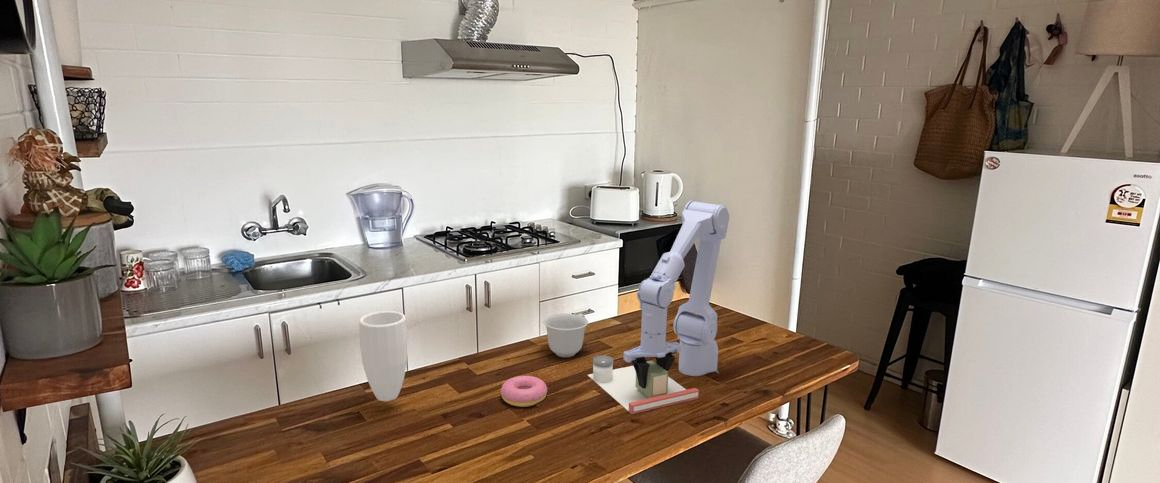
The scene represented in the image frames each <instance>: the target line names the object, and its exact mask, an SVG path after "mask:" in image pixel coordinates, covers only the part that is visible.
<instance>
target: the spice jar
mask: <svg viewBox="0 0 1160 483" xmlns="http://www.w3.org/2000/svg"><path fill="white" fill-rule="evenodd" d="M592 363H593V364H592V365H593V366H592V367H593V368H592V374H593V380H592V381H593V382H595V381H596V382H599V383H607V382H610V381H612V376H613V370H614V369H613V368H614V367H613V366H614V358H613V357H611V356H609V355H601V354H600V355H597V356H594V357H593V359H592ZM596 382H595V383H596Z"/></svg>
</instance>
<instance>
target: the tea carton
mask: <svg viewBox="0 0 1160 483" xmlns="http://www.w3.org/2000/svg"><path fill="white" fill-rule="evenodd" d="M646 362H647V363H649V364H650V366H649V369H648V373H647V384H646V388H644V389H643V388H642V387H640V386H639V383H638V378H637V374H636V385H635V387H636V388H637V389H639V390H640V391H641V392H642V393H644V394H645V395H646V396H647V397H649V398H652V397H657V396H661V395H666V394H667V390H668V377H669V370H668V371H666V370H665V369H663V368H662V367H661V366H659V365H658V364H656V361H654V360H648V361H647V360H646Z"/></svg>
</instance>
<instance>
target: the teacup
mask: <svg viewBox="0 0 1160 483" xmlns="http://www.w3.org/2000/svg"><path fill="white" fill-rule="evenodd" d="M588 324H589V320H588V319H587V318H586V316H585V315H584V313H578V314H575V313H555V314H552V315H548V316H547V317H546V318H544V319H543V325H545V328H546V333H547V334H546V336H547V341H548V342H547V343H548V346H549V349H550V350H551V351H552V352H553V353H554V354H555V355H556V356H558V357H561V358H571V357H574V356H575V355H576V354H577V353H579V351H580V350H581V349H582V346H583V343H584V336H585V330H586V326H587V325H588Z"/></svg>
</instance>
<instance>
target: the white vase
mask: <svg viewBox="0 0 1160 483" xmlns="http://www.w3.org/2000/svg"><path fill="white" fill-rule="evenodd" d="M358 324H359V345H360V346H359V347H360V354H361V361H362V362H361V364H362V366H363V370H364V372H365V377H366V380H367V382H368V384H369V386H370V389H371V390H372V392H373V394H374V396H375V399H377V400H378V401H381V402H390V401H393V400H396V399H397V398H398V397H399V395H400V392H401V390H402V386H403V383H404V379H405V377H406V376H405V375H406V370H407V364H408V332H407V320H406V315H405V314H404V313H402V312H399V311H396V310H382V311H379V310H378V311H374V312H370V313H367V314H365V315H363V316H362V317H360V319H359V322H358Z"/></svg>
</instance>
